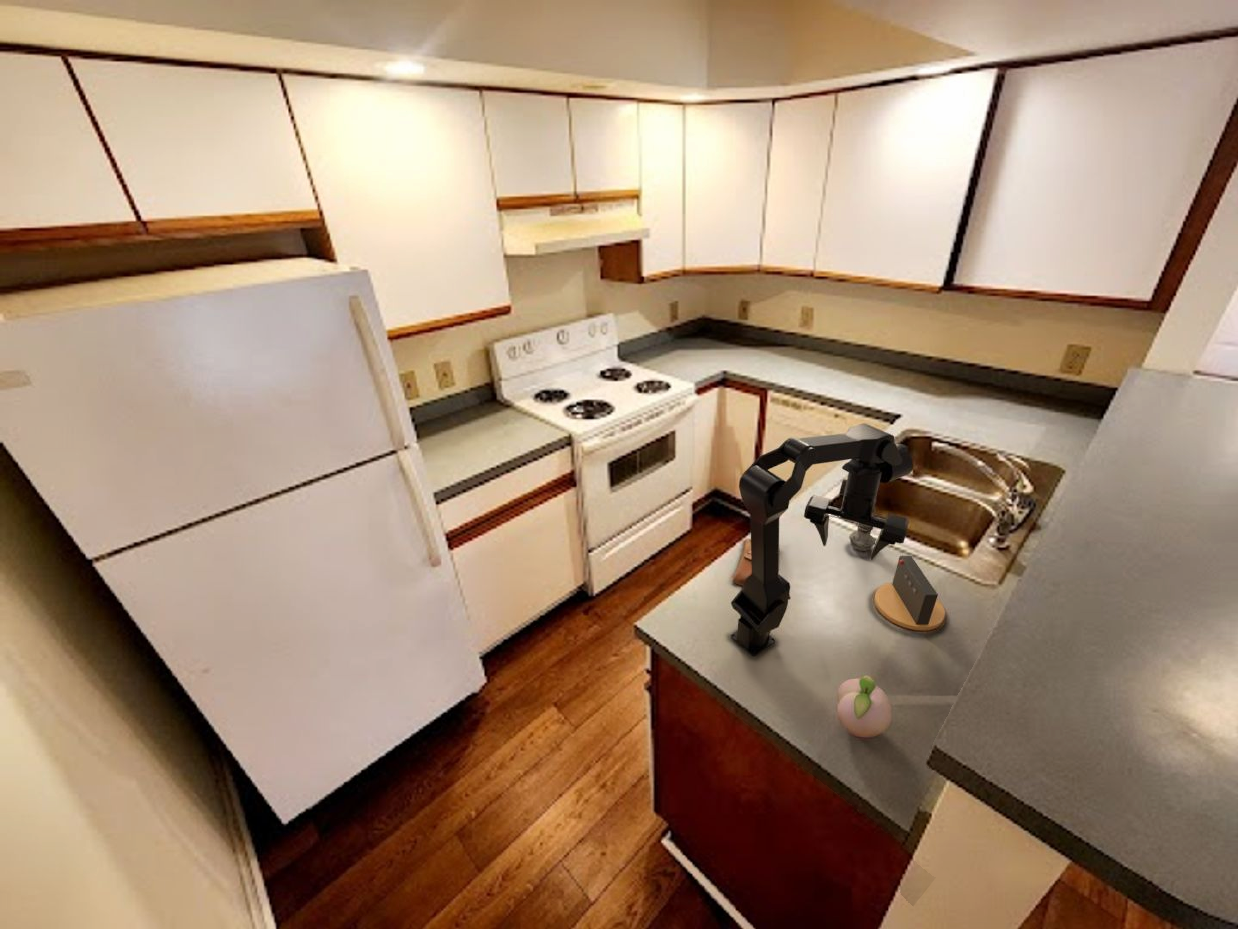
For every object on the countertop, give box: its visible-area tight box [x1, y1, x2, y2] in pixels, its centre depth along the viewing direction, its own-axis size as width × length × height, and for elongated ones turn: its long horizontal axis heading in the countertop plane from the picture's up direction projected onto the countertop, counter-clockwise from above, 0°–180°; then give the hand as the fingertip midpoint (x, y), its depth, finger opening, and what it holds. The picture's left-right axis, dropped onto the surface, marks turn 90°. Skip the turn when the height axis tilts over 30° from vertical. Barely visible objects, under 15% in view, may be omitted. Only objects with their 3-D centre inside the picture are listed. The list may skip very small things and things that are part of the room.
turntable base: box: [871, 589, 947, 633], centre depth 113 cm, size 14×14×1 cm
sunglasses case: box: [731, 538, 752, 588], centre depth 128 cm, size 18×7×7 cm
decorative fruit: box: [836, 675, 892, 738], centre depth 88 cm, size 9×8×10 cm
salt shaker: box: [848, 514, 876, 552], centre depth 128 cm, size 6×6×12 cm
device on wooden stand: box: [874, 555, 946, 631], centre depth 111 cm, size 13×13×9 cm
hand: (847, 551), depth 111 cm, fingers open, 9 cm apart
